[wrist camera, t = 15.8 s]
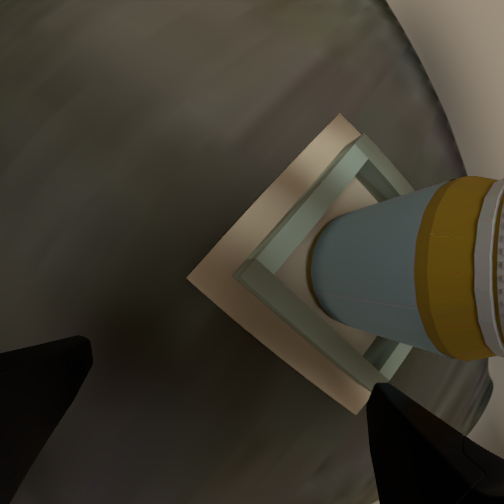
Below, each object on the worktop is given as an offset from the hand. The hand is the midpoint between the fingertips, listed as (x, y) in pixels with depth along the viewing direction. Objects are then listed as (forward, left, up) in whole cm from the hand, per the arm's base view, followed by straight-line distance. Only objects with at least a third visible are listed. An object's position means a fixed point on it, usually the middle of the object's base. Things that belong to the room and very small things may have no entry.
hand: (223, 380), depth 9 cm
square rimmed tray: (+9, -5, -9) cm, 14 cm away
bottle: (+9, -5, -9) cm, 13 cm away
